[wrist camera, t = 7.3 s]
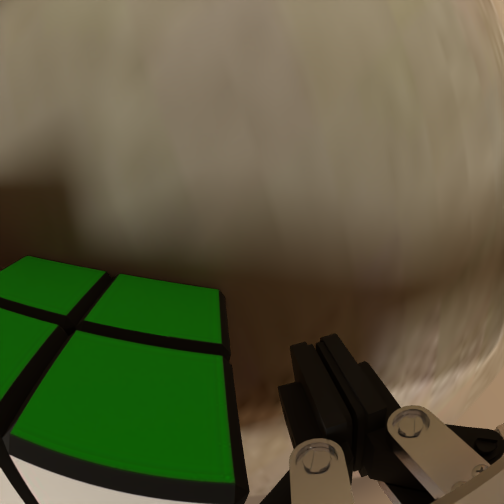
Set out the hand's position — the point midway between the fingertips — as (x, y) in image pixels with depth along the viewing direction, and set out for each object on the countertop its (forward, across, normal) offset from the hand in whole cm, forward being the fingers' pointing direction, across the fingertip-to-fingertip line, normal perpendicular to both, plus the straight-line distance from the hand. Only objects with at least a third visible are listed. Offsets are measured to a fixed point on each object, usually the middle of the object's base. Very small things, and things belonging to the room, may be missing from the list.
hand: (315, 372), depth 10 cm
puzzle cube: (+4, +9, 0) cm, 10 cm away
